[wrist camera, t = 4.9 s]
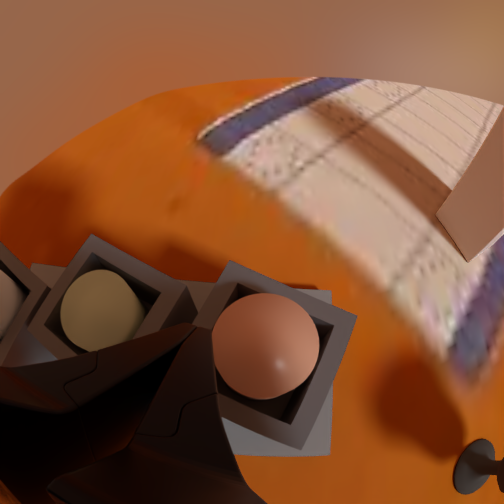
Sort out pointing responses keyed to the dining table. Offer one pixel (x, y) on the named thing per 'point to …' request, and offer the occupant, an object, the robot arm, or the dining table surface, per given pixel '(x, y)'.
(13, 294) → the white rounded dome
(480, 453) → the sundae
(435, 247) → the dining table surface
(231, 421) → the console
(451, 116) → the dining table surface
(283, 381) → the salmon orange ball
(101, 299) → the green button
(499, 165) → the milk
